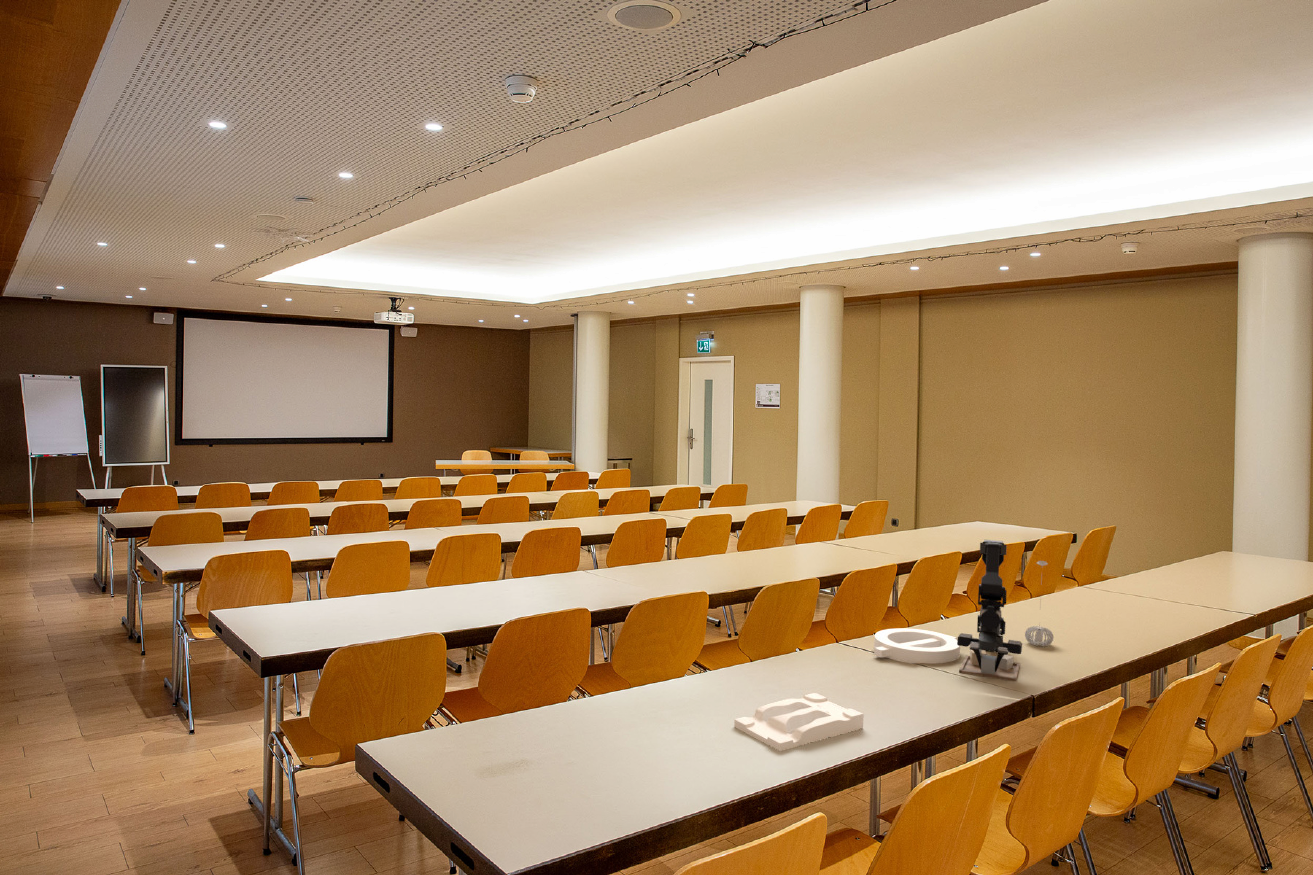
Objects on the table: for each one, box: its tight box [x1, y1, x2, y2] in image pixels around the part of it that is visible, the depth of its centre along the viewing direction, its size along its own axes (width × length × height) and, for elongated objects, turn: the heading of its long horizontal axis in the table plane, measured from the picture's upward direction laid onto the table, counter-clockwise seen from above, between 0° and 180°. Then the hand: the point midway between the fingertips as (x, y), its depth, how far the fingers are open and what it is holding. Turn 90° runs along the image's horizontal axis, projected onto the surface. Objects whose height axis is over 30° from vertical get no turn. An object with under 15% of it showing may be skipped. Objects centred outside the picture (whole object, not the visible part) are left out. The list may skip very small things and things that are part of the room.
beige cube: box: [996, 654, 1014, 670], centre depth 271 cm, size 4×4×4 cm
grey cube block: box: [981, 654, 997, 675], centre depth 265 cm, size 5×4×5 cm
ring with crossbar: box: [873, 627, 961, 665], centre depth 288 cm, size 28×28×5 cm
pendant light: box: [1024, 560, 1054, 647], centre depth 300 cm, size 9×9×30 cm
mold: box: [733, 692, 865, 752], centre depth 218 cm, size 18×29×5 cm, turn 123°
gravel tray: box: [958, 655, 1021, 682], centre depth 269 cm, size 18×17×1 cm
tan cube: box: [969, 649, 988, 665], centre depth 274 cm, size 4×4×4 cm
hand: (988, 670), depth 265 cm, fingers closed on grey cube block, 4 cm apart
